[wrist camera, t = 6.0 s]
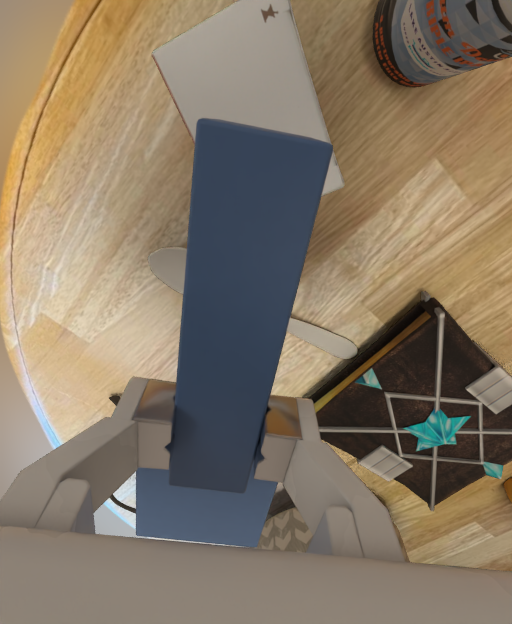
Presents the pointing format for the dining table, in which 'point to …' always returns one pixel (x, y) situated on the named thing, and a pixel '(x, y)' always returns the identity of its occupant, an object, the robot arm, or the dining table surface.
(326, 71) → the dining table surface
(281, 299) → the blue stepped bar
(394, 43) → the beverage can
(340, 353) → the spoon
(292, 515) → the planter
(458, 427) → the book
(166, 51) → the small box
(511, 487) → the bread
